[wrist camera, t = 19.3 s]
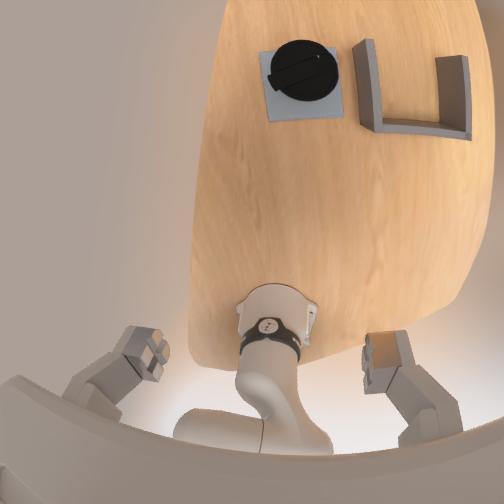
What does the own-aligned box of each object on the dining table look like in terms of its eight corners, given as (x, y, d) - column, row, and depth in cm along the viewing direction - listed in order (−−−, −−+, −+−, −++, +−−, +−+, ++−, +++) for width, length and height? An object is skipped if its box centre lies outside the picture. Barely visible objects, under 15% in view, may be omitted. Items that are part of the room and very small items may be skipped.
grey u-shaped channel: (445, 130, 35) (471, 140, 28) (360, 124, 38) (374, 132, 31) (440, 59, 28) (467, 56, 21) (352, 48, 31) (365, 38, 24)
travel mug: (272, 71, 36) (253, 55, 19) (310, 56, 33) (321, 28, 17) (290, 105, 38) (285, 114, 22) (328, 90, 36) (353, 88, 19)
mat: (343, 117, 38) (343, 117, 38) (269, 121, 41) (269, 121, 40) (334, 48, 32) (335, 47, 32) (258, 53, 35) (258, 52, 34)
